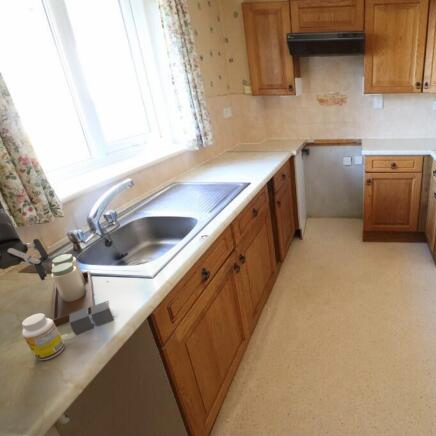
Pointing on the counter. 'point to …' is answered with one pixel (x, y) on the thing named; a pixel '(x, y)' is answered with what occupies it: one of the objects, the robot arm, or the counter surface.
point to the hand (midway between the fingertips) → (20, 287)
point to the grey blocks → (84, 319)
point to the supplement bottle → (42, 336)
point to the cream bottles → (68, 277)
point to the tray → (72, 302)
